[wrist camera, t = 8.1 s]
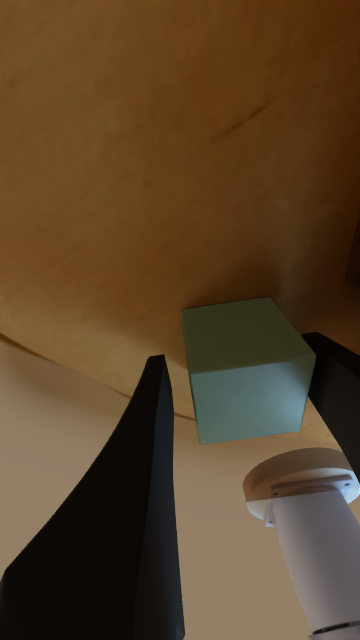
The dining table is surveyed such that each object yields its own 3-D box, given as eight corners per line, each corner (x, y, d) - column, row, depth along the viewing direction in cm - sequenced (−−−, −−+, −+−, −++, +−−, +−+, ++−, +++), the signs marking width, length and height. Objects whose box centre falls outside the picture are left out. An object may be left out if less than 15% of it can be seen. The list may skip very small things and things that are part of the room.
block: (264, 362, 13) (300, 432, 10) (189, 373, 13) (199, 445, 10) (270, 295, 11) (318, 355, 8) (180, 308, 11) (188, 373, 8)
